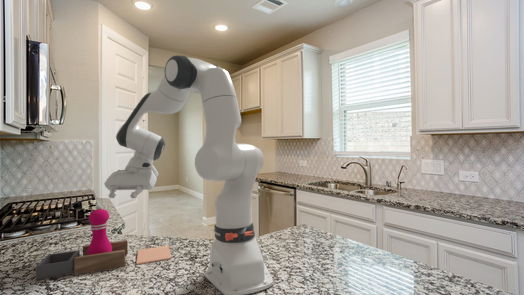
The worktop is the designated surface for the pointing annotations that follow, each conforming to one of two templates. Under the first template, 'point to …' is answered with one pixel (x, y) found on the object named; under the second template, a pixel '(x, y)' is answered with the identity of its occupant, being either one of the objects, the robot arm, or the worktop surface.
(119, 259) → the walnut channel
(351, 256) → the worktop surface
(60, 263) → the box
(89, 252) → the pepper mill
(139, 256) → the terracotta board
